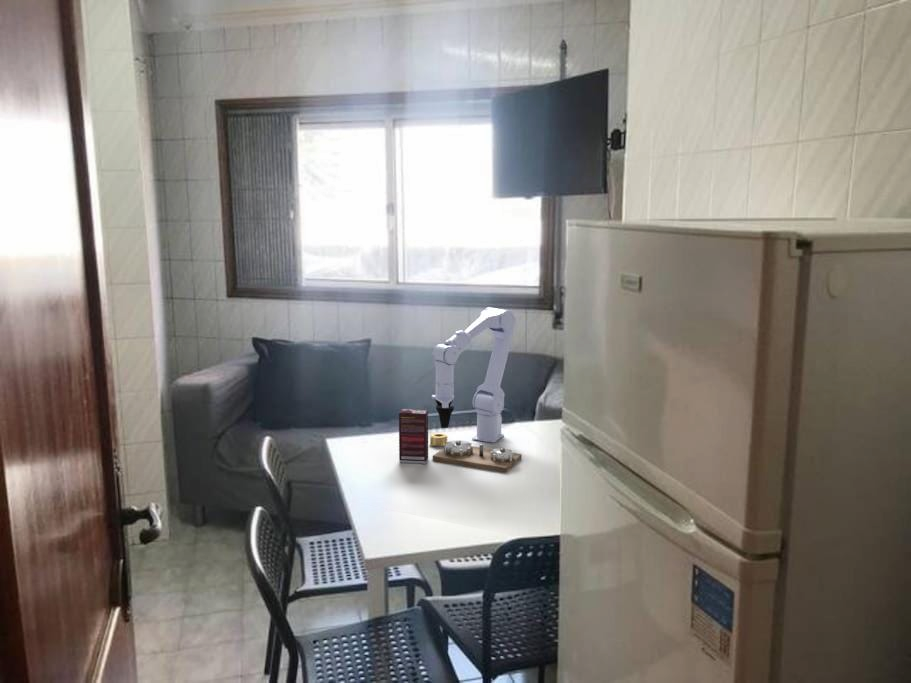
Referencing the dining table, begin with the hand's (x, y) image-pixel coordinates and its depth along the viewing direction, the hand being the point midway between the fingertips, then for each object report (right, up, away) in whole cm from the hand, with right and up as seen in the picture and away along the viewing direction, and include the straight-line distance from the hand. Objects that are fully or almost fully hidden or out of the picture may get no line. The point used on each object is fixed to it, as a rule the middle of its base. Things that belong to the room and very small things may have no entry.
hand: (444, 423), depth 239 cm
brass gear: (-2, -8, +8) cm, 11 cm away
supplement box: (-9, -11, -8) cm, 16 cm away
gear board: (+10, -10, -6) cm, 16 cm away
